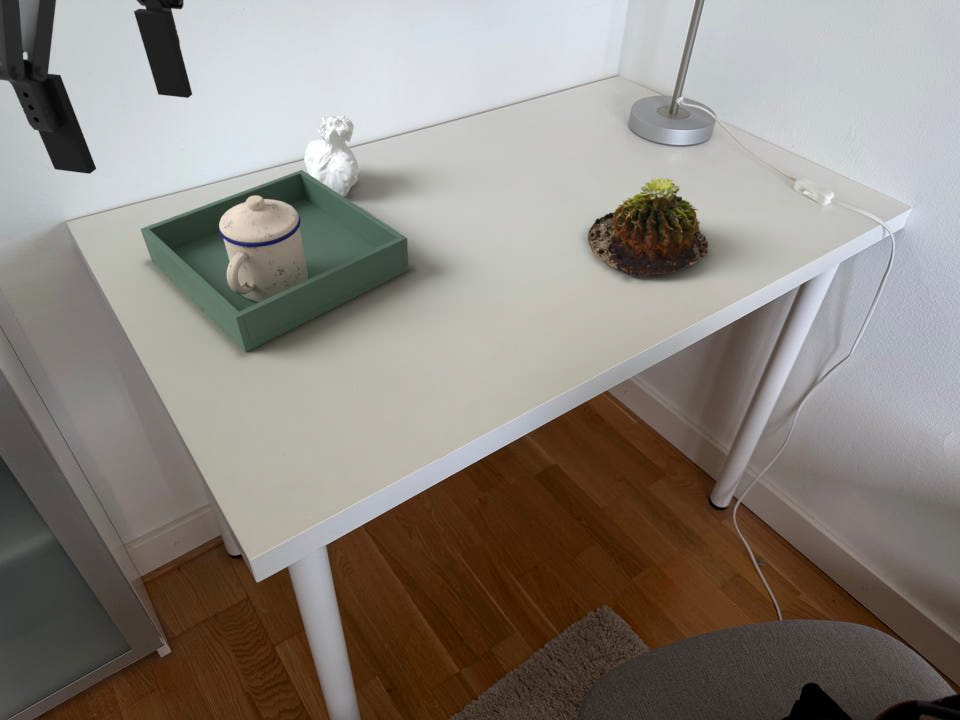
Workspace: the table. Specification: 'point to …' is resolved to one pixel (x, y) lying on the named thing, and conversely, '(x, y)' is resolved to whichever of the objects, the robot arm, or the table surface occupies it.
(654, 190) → the cactus
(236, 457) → the table surface
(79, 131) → the robot arm
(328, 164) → the bust
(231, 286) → the teacup with lid
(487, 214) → the table surface
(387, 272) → the tray
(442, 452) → the table surface
